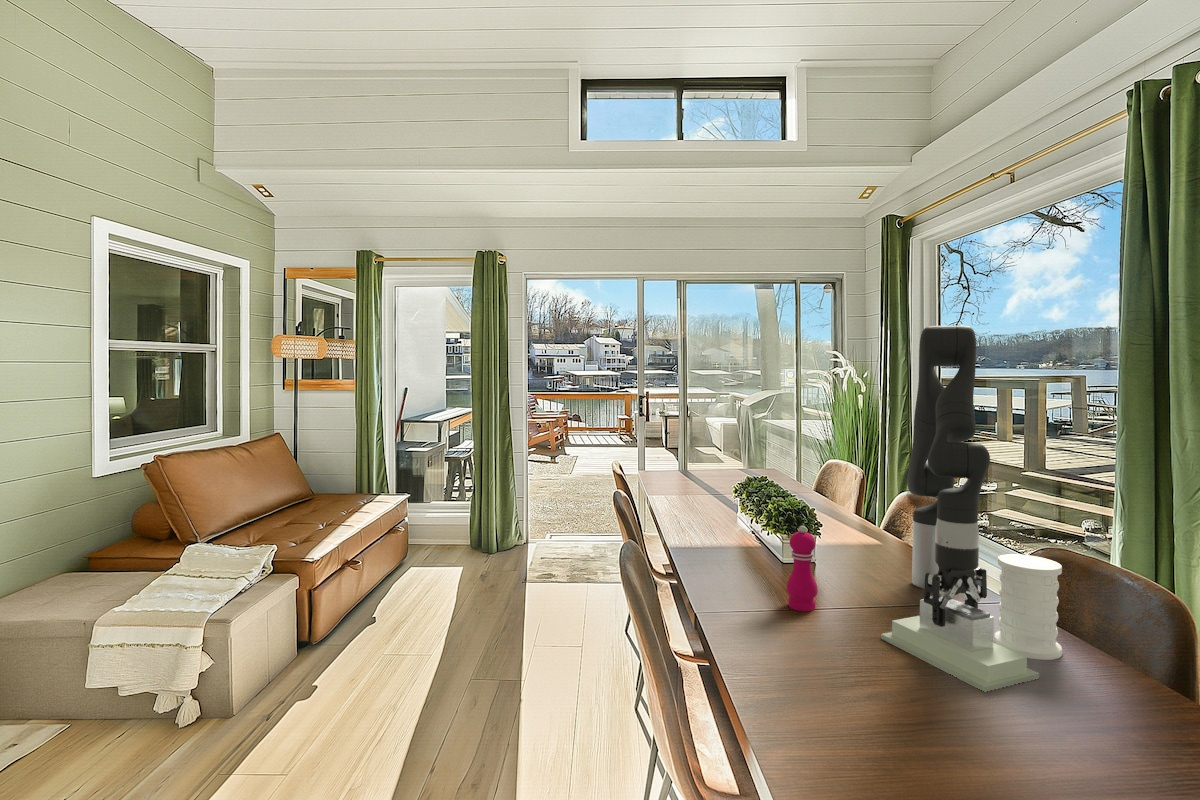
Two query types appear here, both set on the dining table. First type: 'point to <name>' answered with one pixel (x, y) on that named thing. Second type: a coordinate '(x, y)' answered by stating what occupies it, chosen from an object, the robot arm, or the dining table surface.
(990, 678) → the stand
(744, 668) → the dining table surface
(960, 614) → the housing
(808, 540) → the pepper mill
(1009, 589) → the decorative container
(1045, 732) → the dining table surface
